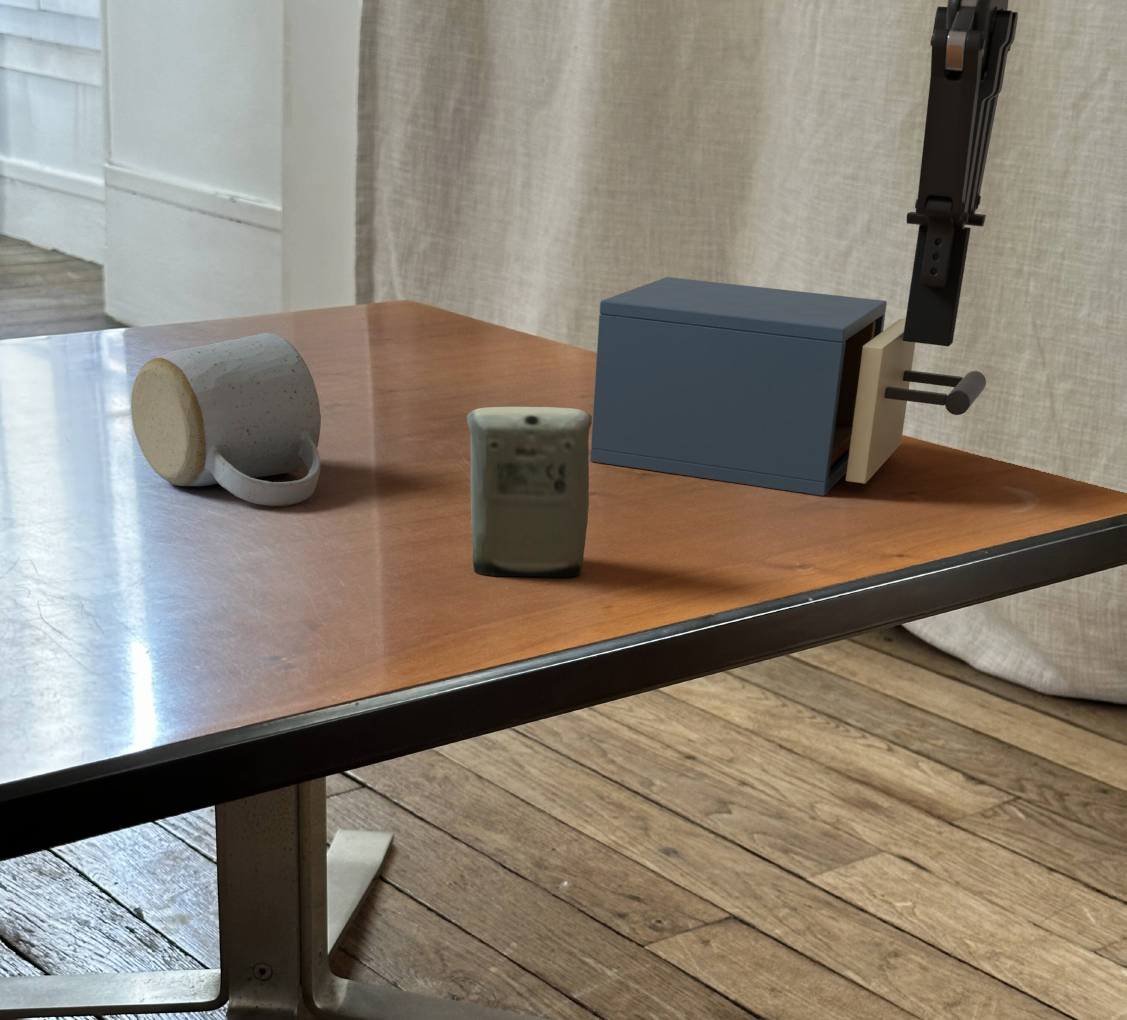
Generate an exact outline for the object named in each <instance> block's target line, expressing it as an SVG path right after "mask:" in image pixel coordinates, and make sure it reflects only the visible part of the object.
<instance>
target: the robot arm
mask: <svg viewBox="0 0 1127 1020" xmlns="http://www.w3.org/2000/svg"><path fill="white" fill-rule="evenodd" d="M1018 18H1019V11H1013V10H1009V0H947V5H946V6H941V5H940V6H937V8H936V11H935V16H934V23H933V28H932V35H931V37H930V46H931V55H930V57H931V58H930V78H929V87H928V97H927V107H926V116H925V125H924V135H923V144H922V154H921V162H920V171H919V172H920V173H919V182H918V191H917V199H916V200H915V203H914V204H915V205H914V209H915V211H909V212H907V213H906V225H907V224H908V225H917V226H918V232H917V239H916V246H915V251H914V252H915V253H914V259H913V266H912V267H913V268H912V273H911V279H910V287H909V292H908V301H907V307H906V313H905V314H906V315H905V319H906V320H905V327H904V334H903V341H907V342H915V344H925V345H932V346H940V347H950V346H951V345H952V344H953V342H954V336H955V330H956V324H957V317H958V311H959V305H960V299H961V292H962V286H963V280H964V273H965V267H966V261H967V256H968V255H967V254H968V247H969V241H970V237H971V229H972V228H971V227H968V226H973V227H984V225H985V222H986V217H987V214H981V213H976V211H977V210H978V209H979V206H980V205H981V201H982V196H981V190H982V185H983V180H984V174H985V171H986V170H985V169H986V165H987V164H986V163H987V160H988V159H987V158H988V152H989V150H990V149H989V147H990V142H991V137H992V132H993V127H994V122H995V117H996V116H995V115H996V112H997V106H998V100H999V95H1000V93H1001V92H1002V90H1003V89H1002V88H1003V85H1004V79H1005V73H1006V65H1007V59H1008V54H1009V52H1010V51H1011V47H1012V45H1013V44H1014V41H1015V38H1016V31H1017V26H1018Z"/></svg>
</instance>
